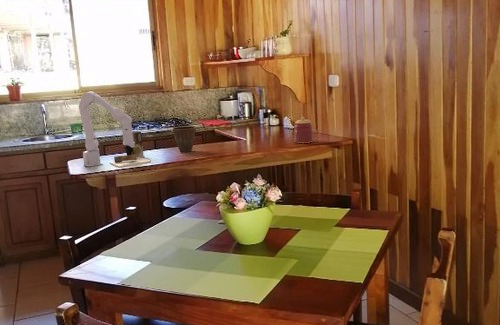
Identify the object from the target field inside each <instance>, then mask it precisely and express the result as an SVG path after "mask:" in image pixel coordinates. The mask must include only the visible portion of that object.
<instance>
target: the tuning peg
mask: <svg viewBox="0 0 500 325" xmlns="http://www.w3.org/2000/svg"><path fill="white" fill-rule="evenodd" d="M137 158H138V157H137V156H136V155H127V154H124V155H115V156H113V159H114V161H115V162H122V161H130V160H137Z"/></svg>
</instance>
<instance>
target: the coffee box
mask: <svg viewBox="0 0 500 325" xmlns="http://www.w3.org/2000/svg"><path fill="white" fill-rule="evenodd" d="M132 135H133V142H135V143H134V146H135V147H134V148H133V151H132V155H136V156H137V158H140V157H144V154H145V153H144V147H143V137H142V131H139V130H132Z"/></svg>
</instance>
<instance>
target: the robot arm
mask: <svg viewBox="0 0 500 325" xmlns="http://www.w3.org/2000/svg"><path fill="white" fill-rule="evenodd" d="M91 104H99V105H100V106H101V107H103V108H104V109H106V110H107V111H108V112H109V113H110V115H111V117H113V118H114V119H116V120H117V121H119V122H120V124H121V127H122V128H121V132H122V145H124V146H123V149H124V151H125V152H126V155H132V151H133V148H134V147H135V146H134V143H135V142H133V135H132V132H133V128H132V127H133V126H132V120H133V118H132V117H131V116H130V115H129V114H127V113H124V111H122V110H121V107H114V106H112V105H111V104H110V103H109V102H108V101H106V99H104V98H103V97H102V96H100V94H99V93H98V94H97V93H96V92H95V91H92V90H91V91H90V90H89V91H86V92H84V93H83V94H82V95H81V97H80V101H79V104H78V110H79V114H80V118H81V121H82V126H83V131H84V134H85V138H84V140H85V144H84V147H85V148H86V151H82V159H83V165H84V166H86V167H94V166H95V167H96V166H99V165H103V162H101V156H100V148H99V146H100V142H99V140H98V139H97V136H96V134H95V131H94V127H93V124H92V123H93V122H92V119H91V115H90V111H89V107H90V106H91Z"/></svg>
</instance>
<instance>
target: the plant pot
mask: <svg viewBox="0 0 500 325" xmlns="http://www.w3.org/2000/svg"><path fill="white" fill-rule="evenodd" d="M172 131H173V135H174V139H175V142H176V145H177V148H178V151H179V152H180V153H190V152H192V150H193V147H194V142H195V136H196V126H193V125H184V126H183V125H182V126H181V125H180V126H175V127H173V128H172Z"/></svg>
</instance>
